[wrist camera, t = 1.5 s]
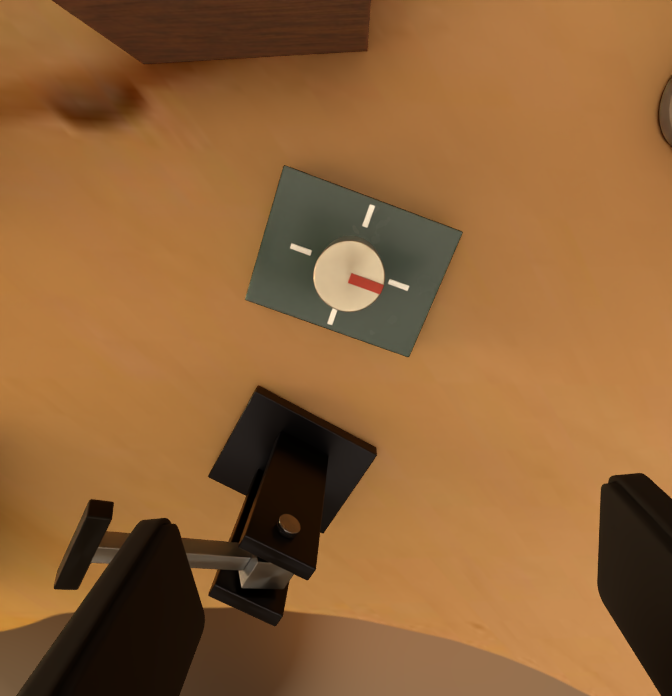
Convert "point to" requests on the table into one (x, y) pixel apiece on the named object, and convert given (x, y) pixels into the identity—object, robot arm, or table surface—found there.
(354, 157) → the table surface
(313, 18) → the tissue box cover
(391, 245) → the dial panel
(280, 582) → the press lever
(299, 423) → the black lever stand
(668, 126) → the travel mug
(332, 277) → the knob
